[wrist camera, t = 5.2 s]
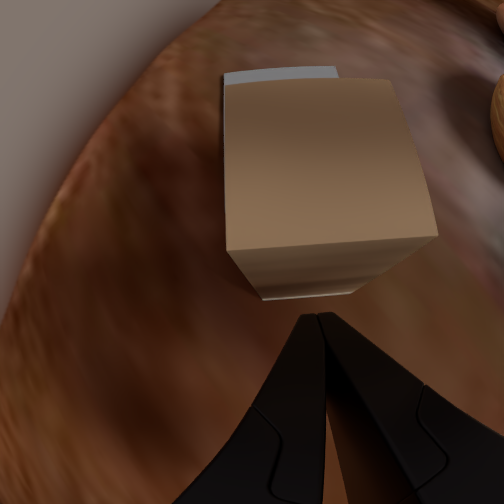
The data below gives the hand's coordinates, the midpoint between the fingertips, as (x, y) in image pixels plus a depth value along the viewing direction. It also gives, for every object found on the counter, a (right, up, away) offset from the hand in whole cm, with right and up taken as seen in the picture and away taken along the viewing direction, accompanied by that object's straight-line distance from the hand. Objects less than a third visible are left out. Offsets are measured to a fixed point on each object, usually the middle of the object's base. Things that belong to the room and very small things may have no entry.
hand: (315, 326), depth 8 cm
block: (+1, +2, +9) cm, 9 cm away
